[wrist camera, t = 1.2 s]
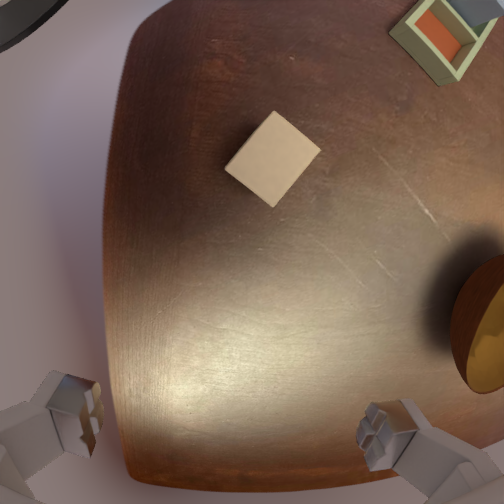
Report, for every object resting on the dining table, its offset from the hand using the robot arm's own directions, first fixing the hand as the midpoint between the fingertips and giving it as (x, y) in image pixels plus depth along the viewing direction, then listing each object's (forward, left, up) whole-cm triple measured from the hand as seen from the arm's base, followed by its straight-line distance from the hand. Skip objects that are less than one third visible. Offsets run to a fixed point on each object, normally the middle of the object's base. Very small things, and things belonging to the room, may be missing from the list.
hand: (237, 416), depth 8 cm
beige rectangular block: (-5, +6, -23) cm, 24 cm away
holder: (-10, +34, -23) cm, 42 cm away
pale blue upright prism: (-11, +38, -22) cm, 45 cm away
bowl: (+23, +23, -23) cm, 40 cm away
